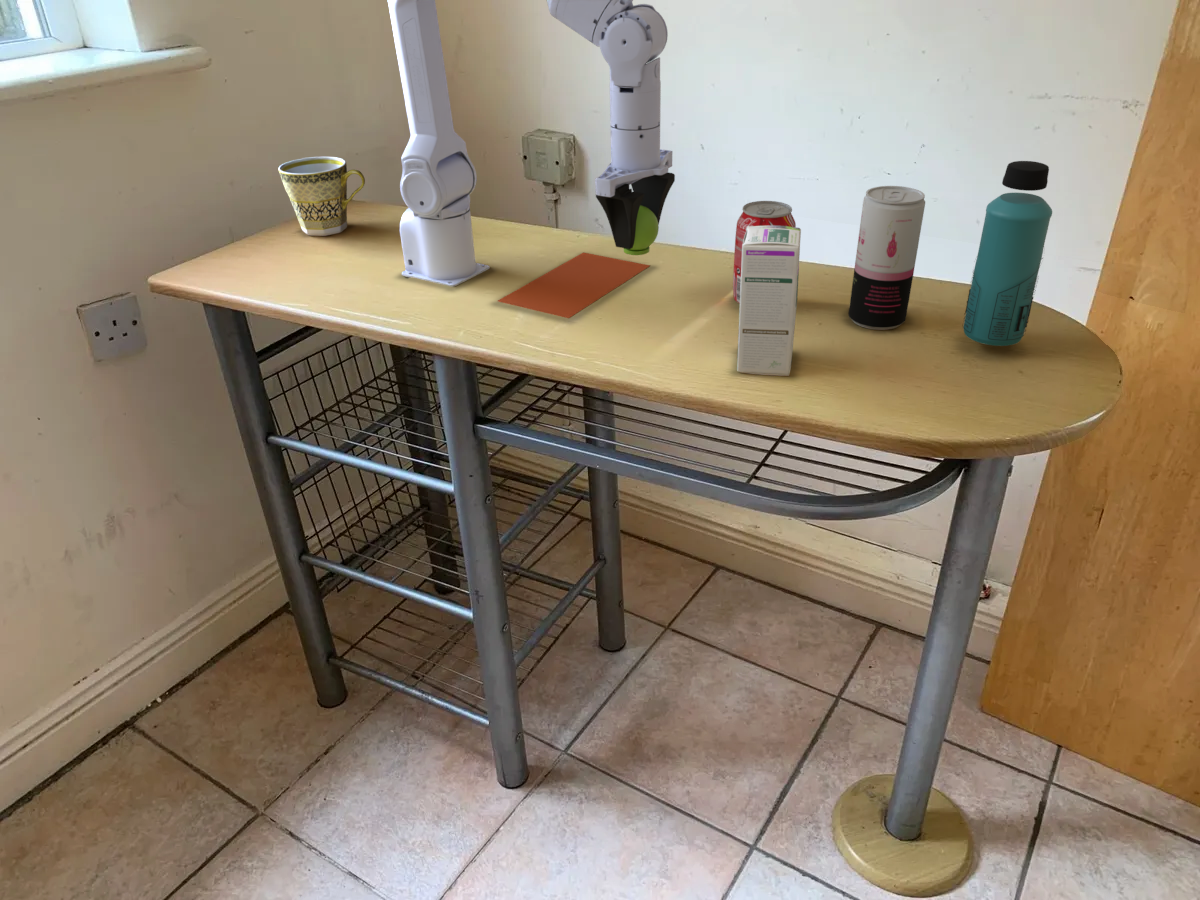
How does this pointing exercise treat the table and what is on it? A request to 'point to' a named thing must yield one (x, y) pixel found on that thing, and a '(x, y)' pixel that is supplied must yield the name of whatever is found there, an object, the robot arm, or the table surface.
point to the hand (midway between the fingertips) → (636, 240)
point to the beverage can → (886, 256)
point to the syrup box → (768, 299)
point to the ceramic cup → (319, 193)
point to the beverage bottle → (1009, 258)
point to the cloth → (574, 284)
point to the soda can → (757, 216)
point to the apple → (644, 232)
